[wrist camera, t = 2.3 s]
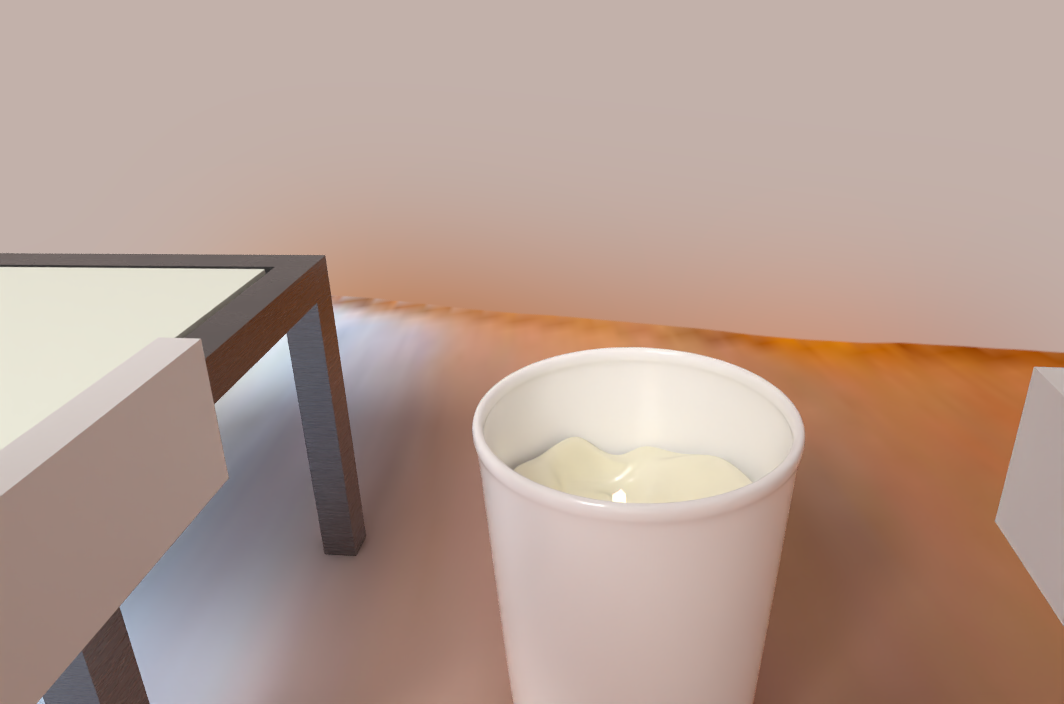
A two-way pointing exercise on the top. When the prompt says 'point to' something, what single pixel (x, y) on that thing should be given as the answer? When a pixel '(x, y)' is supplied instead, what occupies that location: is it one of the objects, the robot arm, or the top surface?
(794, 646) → the top surface
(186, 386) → the robot arm
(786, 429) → the candle holder
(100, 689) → the stand
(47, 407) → the trapdoor
